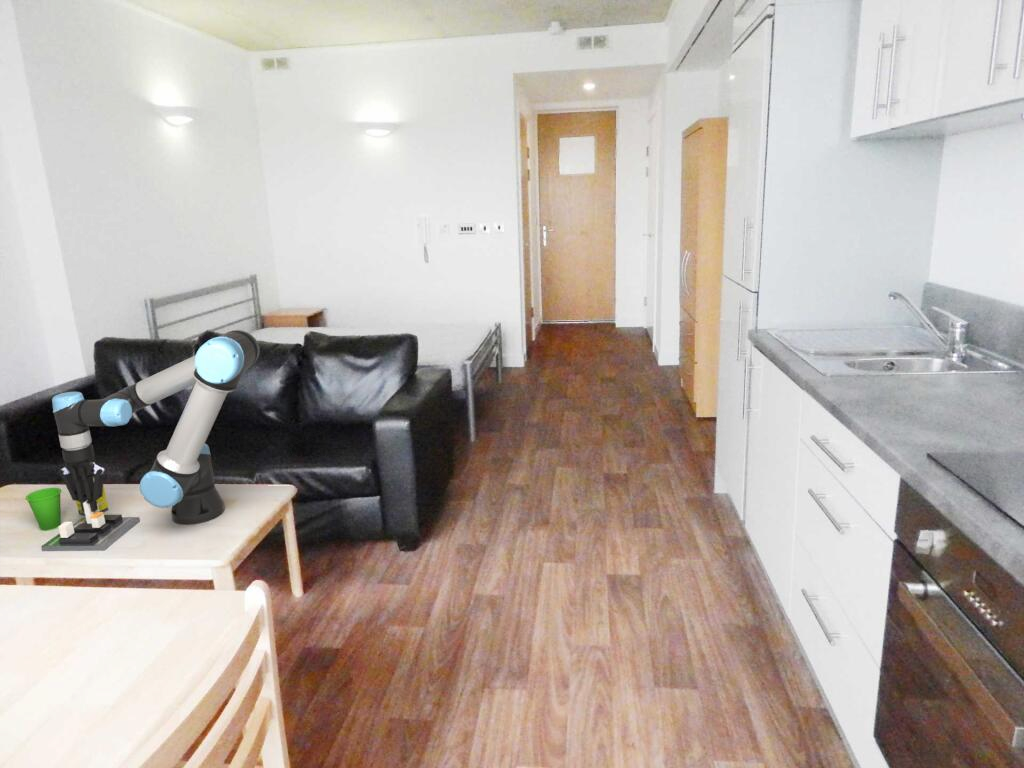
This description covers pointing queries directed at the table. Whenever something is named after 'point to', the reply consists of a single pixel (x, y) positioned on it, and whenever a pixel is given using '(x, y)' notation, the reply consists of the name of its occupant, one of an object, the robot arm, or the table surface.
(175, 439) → the robot arm
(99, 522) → the handle
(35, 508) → the cup
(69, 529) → the handle
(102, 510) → the supplement box
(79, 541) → the panel
